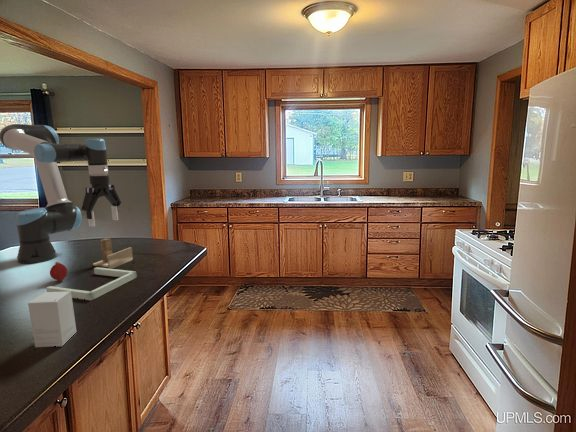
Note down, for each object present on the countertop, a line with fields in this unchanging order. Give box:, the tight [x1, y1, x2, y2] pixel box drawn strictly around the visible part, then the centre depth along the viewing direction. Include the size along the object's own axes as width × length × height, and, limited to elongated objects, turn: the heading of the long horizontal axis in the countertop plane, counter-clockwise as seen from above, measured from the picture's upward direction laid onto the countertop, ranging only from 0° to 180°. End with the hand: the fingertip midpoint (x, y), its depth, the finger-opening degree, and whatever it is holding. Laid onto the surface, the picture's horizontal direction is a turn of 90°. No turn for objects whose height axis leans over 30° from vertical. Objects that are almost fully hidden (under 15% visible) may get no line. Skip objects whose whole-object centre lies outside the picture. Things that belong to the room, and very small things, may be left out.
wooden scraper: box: [92, 238, 134, 269], centre depth 163 cm, size 11×14×11 cm
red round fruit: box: [49, 261, 69, 282], centre depth 141 cm, size 6×6×8 cm
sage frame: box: [46, 266, 138, 301], centre depth 137 cm, size 20×23×2 cm
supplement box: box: [27, 291, 78, 348], centre depth 97 cm, size 7×7×13 cm
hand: (104, 223), depth 161 cm, fingers open, 13 cm apart
